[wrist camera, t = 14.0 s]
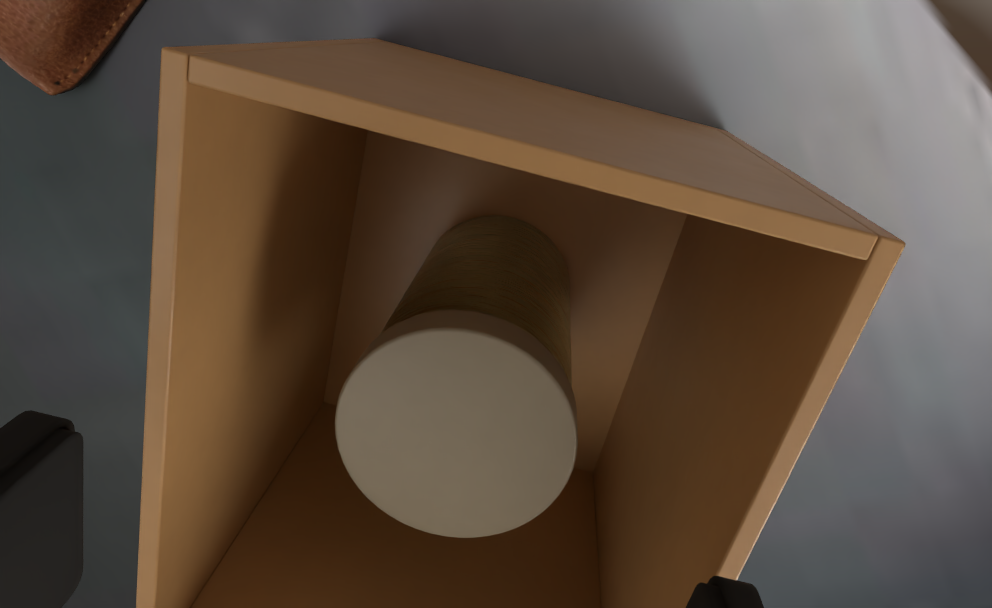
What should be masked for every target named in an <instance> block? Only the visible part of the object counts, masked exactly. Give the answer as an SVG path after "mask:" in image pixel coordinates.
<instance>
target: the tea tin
mask: <svg viewBox="0 0 992 608" xmlns="http://www.w3.org/2000/svg"><path fill="white" fill-rule="evenodd" d="M335 435H336V440H337V445H338V450H339V453H340V455H341V458H342V461H343V464H344V465H345V467H346V469H347V471H348V473H349V475H350V477H351V478H352V480H353V481H354V482H355V484H356V485H357V487H358V488H359V489H360V490H361V491H362V493H363V494H364V495H365V496H366V497H367V498H368V499H369V500H370V501H371V502H372V503H374V504H375V505H376V506H377V507H378V508H380V509H381V510H382V511H384V512H385V513H386V514H388V515H389V516H391V517H393V518H395V519H396V520H398V521H400V522H402V523H404V524H406V525H408V526H411V527H413V528H415V529H418V530H421V531H424V532H428V533H431V534H436V535H441V536H447V537H457V538H476V537H484V536H491V535H495V534H500V533H504V532H506V531H509V530H512V529H515V528H517V527H519V526H521V525H523V524H525V523H527V522H529V521H531V520H532V519H534V518H535V517H537V516H538V515H540V514H541V513H542V512H543V511H544V510H545V509H547V508H548V507H549V506H550V505H551V504H552V503H553V502H554V500H555V499H556V498H557V497H558V496H559V495H560V493H561V492H562V490H563V489H564V487H565V485H566V484H567V482H568V480H569V478H570V475H571V473H572V471H573V468H574V464H575V460H576V456H577V447H578V430H577V407H576V402H575V397H574V393H573V390H572V369H571V315H570V279H569V274H568V269H567V266H566V263H565V261H564V259H563V257H562V255H561V253H560V251H559V250H558V248H557V247H556V245H555V244H554V243H553V242H552V241H551V240H550V239H549V237H547V236H546V235H545V234H544V233H543V232H542V231H540V230H539V229H537V228H536V227H534V226H533V225H531V224H529V223H527V222H524V221H522V220H519V219H516V218H512V217H507V216H499V215H488V216H480V217H475V218H472V219H469V220H466V221H463V222H461V223H459V224H457V225H455V226H454V227H452V228H451V229H449V230H448V231H447V232H446V233H445V234H443V235H442V236H441V237H440V238H439V240H438V241H437V242H436V243H435V245H434V246H433V248H432V249H431V251H430V253H429V254H428V256H427V257H426V259H425V261H424V262H423V264H422V266H421V267H420V269H419V271H418V272H417V274H416V276H415V277H414V279H413V280H412V282H411V284H410V285H409V287H408V289H407V290H406V292H405V294H404V295H403V297H402V299H401V300H400V302H399V303H398V305H397V307H396V308H395V310H394V312H393V313H392V315H391V317H390V318H389V320H388V322H387V323H386V325H385V326H384V328H383V330H382V331H381V333H380V335H379V336H378V337H377V338H376V339H375V340H374V341H373V342H372V343H371V344H370V345H369V346H368V347H367V348H366V350H365V351H364V352H363V354H362V355H361V357H360V358H359V360H358V362H357V363H356V365H355V366H354V368H353V370H352V371H351V373H350V374H349V376H348V378H347V379H346V381H345V383H344V385H343V387H342V390H341V392H340V394H339V398H338V402H337V406H336V413H335Z"/></svg>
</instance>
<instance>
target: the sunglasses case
mask: <svg viewBox="0 0 992 608" xmlns="http://www.w3.org/2000/svg"><path fill="white" fill-rule="evenodd" d="M145 1H146V0H0V58H1V59H2V60H3V61H4V62H5V63H6V64H7V65H8V66H10V67H11V68H12V69H14V70H15V71H16V72H17V73H19V74H20V75H21V76H22V77H24V78H25V79H27V80H29V81H30V82H31V83H32V84H34V85H35V86H37V87H39V88H40V89H42V90H43V91H45V92H46V93H47V94H49V95H57V94H61V93H65V92H67V91H70V90H73V89H74V88H76V87H77V86H79V85H80V84H81V83H82V82H83V81H84V80H85V78H86V77H87V76H88V75H89V74H90V72H91V71H92V70H93V69H94V67H95V66H96V65H97V64H98V63H99V61H100V60H101V59H102V58H103V57H104V55H105V54H106V53H107V52H108V51H109V49H110V48H111V47H112V46H113V45H114V43H115V42H116V41H117V39H118V38H119V37H120V35H121V34H122V33H123V31H124V30H125V28H126V27H127V26H128V24H129V23H130V21H131V20H132V19H133V18H134V16H135V15H136V14H137V12H138V11H139V10H140V8H141V7H142V5H143V4H144V3H145Z"/></svg>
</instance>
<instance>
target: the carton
mask: <svg viewBox="0 0 992 608" xmlns="http://www.w3.org/2000/svg"><path fill="white" fill-rule="evenodd" d="M488 215H499V216H507V217H512V218H516V219H519V220H522V221H524V222H527V223H529V224H531V225H533V226H534V227H536V228H537V229H539V230H540V231H542V232H543V233H544V234H545V235H546V236H547V237H549V239H550V240H551V241H552V242H553V243H554V244H555V245H556V247H557V248H558V250H559V251H560V253H561V255H562V257H563V259H564V261H565V263H566V266H567V269H568V274H569V279H570V315H571V369H572V390H573V393H574V397H575V402H576V407H577V430H578V447H577V456H576V460H575V464H574V468H573V471H572V473H571V475H570V478H569V480H568V482H567V484H566V485H565V487H564V489H563V490H562V492H561V493H560V495H559V496H558V497H557V498H556V499H555V500H554V502H553V503H552V504H551V505H550V506H549V507H548V508H547V509H545V510H544V511H543V512H542V513H541V514H540V515H538V516H537V517H535V518H534V519H532V520H531V521H529V522H527V523H525V524H523V525H521V526H519V527H517V528H515V529H512V530H509V531H506V532H504V533H500V534H495V535H491V536H484V537H476V538H457V537H447V536H441V535H436V534H431V533H428V532H424V531H421V530H418V529H415V528H413V527H411V526H408V525H406V524H404V523H402V522H400V521H398V520H396V519H395V518H393V517H391V516H389V515H388V514H386V513H385V512H384V511H382V510H381V509H380V508H378V507H377V506H376V505H375V504H374V503H372V502H371V501H370V500H369V499H368V498H367V497H366V496H365V495H364V494H363V493H362V491H361V490H360V489H359V488H358V487H357V485H356V484H355V482H354V481H353V480H352V478H351V477H350V475H349V473H348V471H347V469H346V467H345V465H344V464H343V461H342V458H341V455H340V453H339V450H338V445H337V440H336V435H335V413H336V406H337V402H338V398H339V394H340V392H341V390H342V387H343V385H344V383H345V381H346V379H347V378H348V376H349V374H350V373H351V371H352V370H353V368H354V366H355V365H356V363H357V362H358V360H359V358H360V357H361V355H362V354H363V352H364V351H365V350H366V348H367V347H368V346H369V345H370V344H371V343H372V342H373V341H374V340H375V339H376V338H377V337H378V336H379V335H380V333H381V331H382V330H383V328H384V326H385V325H386V323H387V322H388V320H389V318H390V317H391V315H392V313H393V312H394V310H395V308H396V307H397V305H398V303H399V302H400V300H401V299H402V297H403V295H404V294H405V292H406V290H407V289H408V287H409V285H410V284H411V282H412V280H413V279H414V277H415V276H416V274H417V272H418V271H419V269H420V267H421V266H422V264H423V262H424V261H425V259H426V257H427V256H428V254H429V253H430V251H431V249H432V248H433V246H434V245H435V243H436V242H437V241H438V240H439V238H440V237H441V236H442V235H443V234H445V233H446V232H447V231H448V230H449V229H451V228H452V227H454V226H455V225H457V224H459V223H461V222H463V221H466V220H469V219H472V218H475V217H480V216H488ZM904 247H905V242H903V241H902V240H900V239H899V238H897V237H896V236H894V235H892V234H891V233H889V232H888V231H886V230H884V229H883V228H881V227H880V226H878V225H876V224H875V223H873V222H872V221H870V220H868V219H867V218H865V217H864V216H862V215H860V214H859V213H857V212H856V211H854V210H852V209H851V208H849V207H848V206H846V205H844V204H843V203H841V202H840V201H838V200H836V199H835V198H833V197H832V196H830V195H828V194H827V193H825V192H824V191H822V190H820V189H819V188H817V187H816V186H814V185H813V184H811V183H809V182H808V181H806V180H805V179H803V178H801V177H800V176H798V175H797V174H795V173H793V172H792V171H790V170H789V169H787V168H785V167H784V166H782V165H781V164H779V163H777V162H776V161H774V160H773V159H771V158H769V157H768V156H766V155H765V154H763V153H761V152H760V151H758V150H757V149H755V148H753V147H752V146H750V145H749V144H747V143H745V142H744V141H742V140H741V139H739V138H737V137H736V136H734V135H733V134H731V133H729V132H728V131H725V130H722V129H718V128H714V127H710V126H706V125H703V124H699V123H695V122H691V121H687V120H684V119H680V118H676V117H672V116H668V115H665V114H661V113H657V112H653V111H649V110H646V109H642V108H638V107H634V106H630V105H627V104H623V103H619V102H615V101H611V100H608V99H604V98H600V97H596V96H592V95H589V94H585V93H581V92H577V91H573V90H570V89H566V88H562V87H558V86H554V85H551V84H547V83H543V82H539V81H535V80H532V79H528V78H524V77H520V76H517V75H513V74H509V73H505V72H501V71H498V70H494V69H490V68H486V67H482V66H479V65H475V64H471V63H467V62H463V61H460V60H456V59H452V58H448V57H444V56H441V55H437V54H433V53H429V52H425V51H422V50H418V49H414V48H410V47H406V46H403V45H399V44H395V43H391V42H387V41H384V40H380V39H376V38H364V39H341V40H318V41H295V42H272V43H250V44H227V45H204V46H181V47H164V48H162V50H161V70H160V92H159V114H158V136H157V158H156V180H155V202H154V224H153V246H152V268H151V290H150V312H149V334H148V357H147V379H146V401H145V423H144V445H143V467H142V489H141V511H140V533H139V555H138V577H137V599H136V608H686V606H687V603H688V601H689V599H690V597H691V595H692V593H693V591H694V589H695V587H696V585H697V584H698V583H706V584H707V583H708V581H709V579H710V578H712V577H713V576H720V577H724V578H728V579H733V580H737V579H738V577H739V575H740V573H741V571H742V569H743V567H744V565H745V563H746V561H747V559H748V557H749V555H750V553H751V551H752V549H753V547H754V545H755V543H756V541H757V539H758V537H759V535H760V533H761V531H762V529H763V527H764V525H765V523H766V521H767V519H768V517H769V515H770V513H771V511H772V509H773V507H774V505H775V503H776V501H777V499H778V497H779V495H780V493H781V491H782V489H783V487H784V485H785V483H786V481H787V479H788V477H789V475H790V473H791V471H792V470H793V468H794V466H795V464H796V462H797V460H798V458H799V456H800V454H801V452H802V450H803V448H804V446H805V444H806V442H807V440H808V438H809V436H810V434H811V432H812V430H813V428H814V426H815V424H816V422H817V420H818V418H819V416H820V414H821V412H822V410H823V408H824V406H825V404H826V402H827V400H828V398H829V396H830V394H831V392H832V390H833V388H834V386H835V384H836V382H837V380H838V378H839V376H840V374H841V372H842V370H843V368H844V366H845V364H846V362H847V360H848V358H849V356H850V354H851V352H852V350H853V348H854V346H855V344H856V342H857V340H858V338H859V336H860V334H861V332H862V330H863V328H864V326H865V325H866V323H867V321H868V319H869V317H870V315H871V313H872V311H873V309H874V307H875V305H876V303H877V301H878V299H879V297H880V295H881V293H882V291H883V289H884V287H885V285H886V283H887V281H888V279H889V277H890V275H891V273H892V271H893V269H894V267H895V265H896V263H897V261H898V259H899V257H900V255H901V253H902V251H903V249H904Z"/></svg>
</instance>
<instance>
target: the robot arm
mask: <svg viewBox="0 0 992 608" xmlns="http://www.w3.org/2000/svg"><path fill="white" fill-rule="evenodd" d="M82 572H83V437H82V435H81V434H80V433H78V432H75V430H74V425H73V423H72V421H70V420H68V419H64V418H60V417H56V416H52V415H48V414H43V413H39V412H35V411H25V412H23V413H21V414H19V415H18V416H16V417H15V418H14V419H12V420H11V421H10V422H8V423H7V424H6V425H4V426H3V427H2V428H0V608H61V607H62V606H63V605H64V604H65V603H66V601H67V600H68V599H69V598H70V597H71V595H72V594H73V592H74V591H75V589H76V587H77V586H78V584H79V581H80V579H81V576H82ZM686 608H764V607H763V604H762V601H761V599H760V596H759V593H758V591H757V589H756V588H755V587H754V586H753V585H752V584H749V583H745V582H741V581H737V580H733V579H728V578H724V577H720V576H713V577H712V578H710V579H709V581H708V583H707V584H706V583H698V584H697V585H696V587H695V589H694V591H693V593H692V595H691V597H690V599H689V601H688V603H687V606H686Z"/></svg>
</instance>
